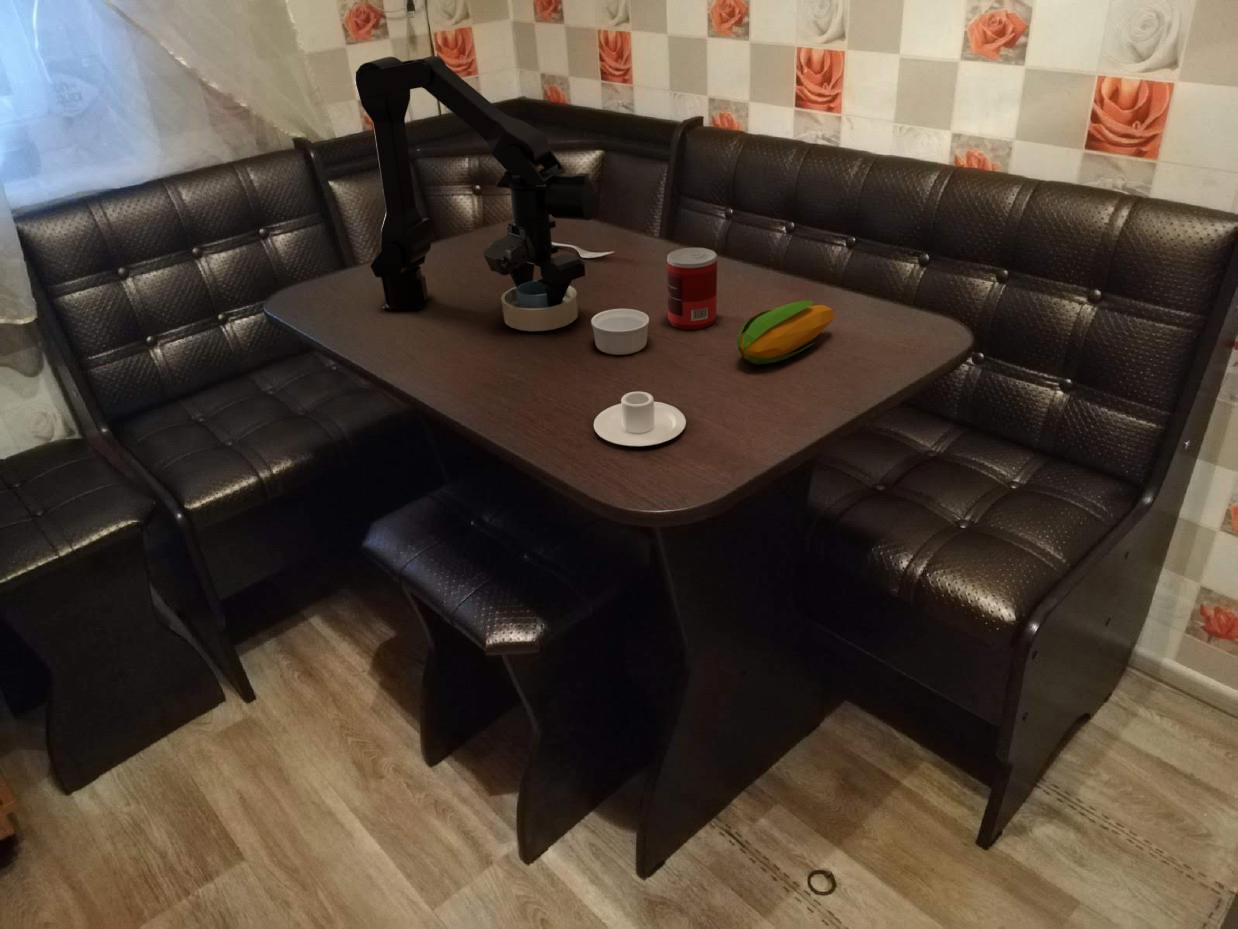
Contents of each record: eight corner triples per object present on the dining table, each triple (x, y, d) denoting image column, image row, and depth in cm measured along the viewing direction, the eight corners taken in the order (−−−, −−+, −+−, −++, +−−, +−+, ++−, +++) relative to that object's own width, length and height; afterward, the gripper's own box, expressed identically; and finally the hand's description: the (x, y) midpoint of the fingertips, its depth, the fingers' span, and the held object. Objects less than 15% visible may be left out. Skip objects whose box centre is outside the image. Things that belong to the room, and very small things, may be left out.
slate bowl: (516, 325, 150) (513, 296, 148) (522, 308, 156) (519, 280, 154) (559, 324, 150) (556, 295, 147) (564, 307, 156) (562, 279, 153)
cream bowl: (498, 334, 149) (495, 310, 146) (510, 305, 159) (508, 282, 157) (574, 333, 148) (572, 308, 145) (581, 304, 158) (580, 280, 156)
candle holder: (675, 401, 126) (674, 372, 124) (695, 444, 116) (695, 414, 114) (588, 411, 125) (586, 382, 123) (601, 456, 115) (599, 425, 112)
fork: (530, 237, 191) (529, 228, 190) (616, 259, 177) (616, 250, 176) (518, 241, 189) (517, 232, 188) (605, 264, 175) (604, 255, 174)
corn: (724, 315, 131) (814, 278, 142) (721, 362, 135) (808, 323, 146) (763, 333, 127) (853, 293, 137) (758, 381, 131) (846, 339, 142)
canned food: (724, 316, 151) (725, 250, 145) (701, 334, 145) (701, 266, 139) (683, 308, 154) (682, 244, 149) (659, 325, 149) (657, 259, 143)
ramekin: (621, 328, 148) (620, 303, 146) (661, 343, 143) (661, 317, 140) (580, 346, 143) (579, 320, 141) (621, 362, 138) (619, 335, 135)
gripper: (454, 215, 146) (467, 308, 154) (525, 240, 134) (535, 339, 142) (512, 200, 152) (521, 290, 160) (584, 222, 140) (590, 318, 148)
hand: (540, 309), depth 152 cm, fingers closed on slate bowl, 7 cm apart
